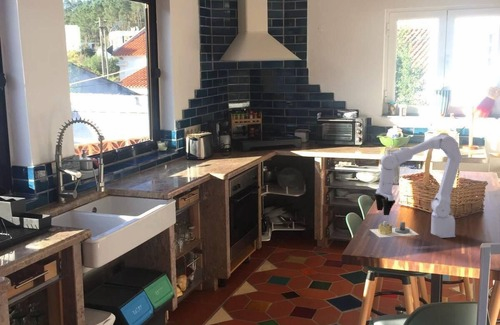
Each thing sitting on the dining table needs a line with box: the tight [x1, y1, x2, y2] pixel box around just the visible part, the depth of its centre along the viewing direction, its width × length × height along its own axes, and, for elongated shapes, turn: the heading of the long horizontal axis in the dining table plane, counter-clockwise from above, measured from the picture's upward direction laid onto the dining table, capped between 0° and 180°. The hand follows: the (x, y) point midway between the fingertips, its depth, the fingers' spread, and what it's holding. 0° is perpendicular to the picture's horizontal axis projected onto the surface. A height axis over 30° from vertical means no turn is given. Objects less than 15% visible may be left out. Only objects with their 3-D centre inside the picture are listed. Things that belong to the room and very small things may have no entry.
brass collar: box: [377, 222, 393, 235], centre depth 247 cm, size 5×5×4 cm
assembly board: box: [369, 220, 420, 238], centre depth 247 cm, size 18×12×6 cm, turn 98°
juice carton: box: [383, 144, 401, 185], centre depth 350 cm, size 9×8×24 cm
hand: (382, 212), depth 245 cm, fingers open, 7 cm apart
